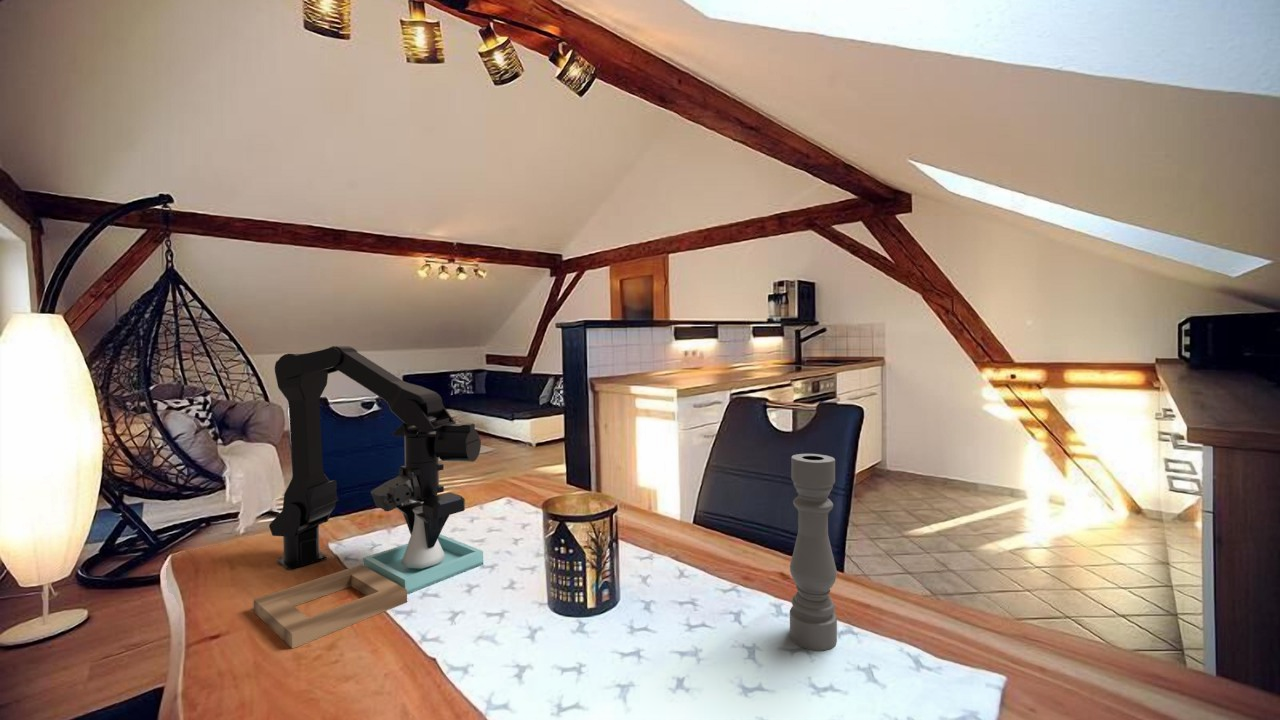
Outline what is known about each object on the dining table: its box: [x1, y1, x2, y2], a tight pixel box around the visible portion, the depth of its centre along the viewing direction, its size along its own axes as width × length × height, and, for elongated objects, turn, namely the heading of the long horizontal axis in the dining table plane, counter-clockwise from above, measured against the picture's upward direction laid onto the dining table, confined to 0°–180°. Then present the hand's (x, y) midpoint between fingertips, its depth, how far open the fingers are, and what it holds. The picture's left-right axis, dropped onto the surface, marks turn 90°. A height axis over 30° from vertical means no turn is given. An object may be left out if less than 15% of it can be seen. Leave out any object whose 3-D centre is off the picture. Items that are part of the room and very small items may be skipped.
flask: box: [401, 506, 446, 569], centre depth 95 cm, size 7×7×10 cm
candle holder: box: [789, 453, 838, 652], centre depth 71 cm, size 6×6×25 cm
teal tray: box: [362, 533, 484, 595], centre depth 95 cm, size 15×15×2 cm
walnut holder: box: [253, 564, 408, 649], centre depth 81 cm, size 16×16×2 cm
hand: (423, 544), depth 95 cm, fingers closed on flask, 5 cm apart
